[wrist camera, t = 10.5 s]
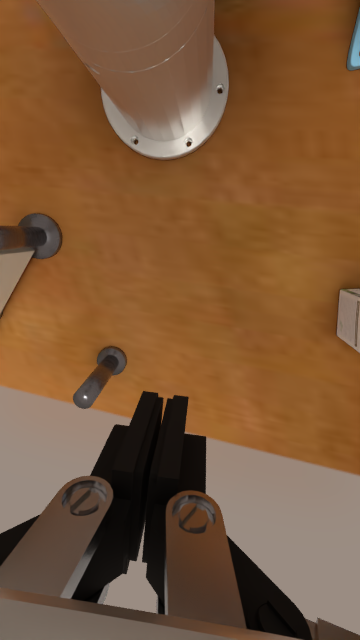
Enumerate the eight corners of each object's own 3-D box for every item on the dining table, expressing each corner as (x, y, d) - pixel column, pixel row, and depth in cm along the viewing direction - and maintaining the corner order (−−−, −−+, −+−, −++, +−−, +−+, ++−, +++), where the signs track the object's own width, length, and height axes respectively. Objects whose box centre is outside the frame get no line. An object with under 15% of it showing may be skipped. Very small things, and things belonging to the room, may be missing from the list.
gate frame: (-56, 267, 39) (-167, 282, 28) (47, 205, 36) (-29, 194, 25) (37, 408, 43) (-25, 472, 32) (136, 364, 40) (107, 416, 29)
